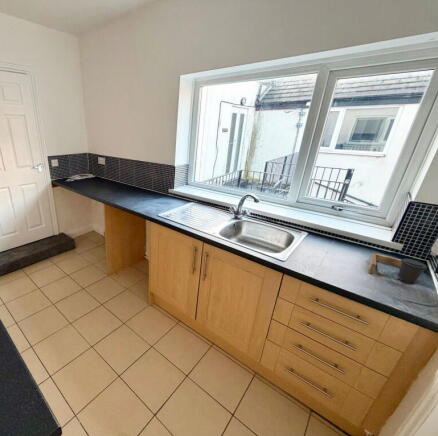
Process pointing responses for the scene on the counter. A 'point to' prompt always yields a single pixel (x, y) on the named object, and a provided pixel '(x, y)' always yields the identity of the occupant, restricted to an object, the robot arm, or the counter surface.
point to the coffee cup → (410, 270)
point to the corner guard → (381, 258)
